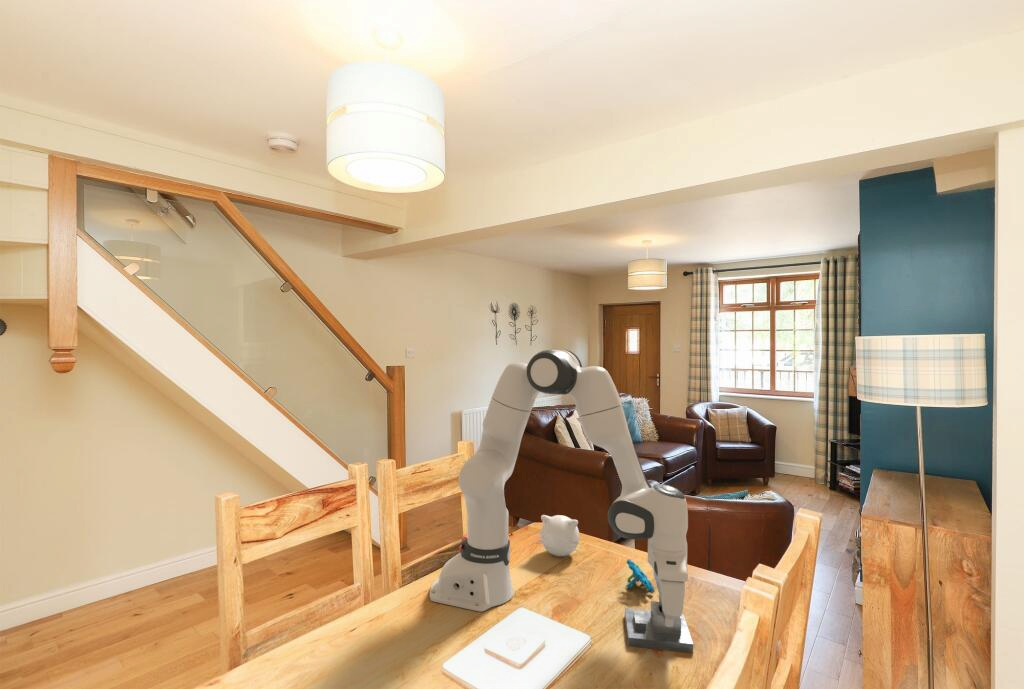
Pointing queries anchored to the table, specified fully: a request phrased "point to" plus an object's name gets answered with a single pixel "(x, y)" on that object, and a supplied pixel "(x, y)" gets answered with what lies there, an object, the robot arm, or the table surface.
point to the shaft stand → (655, 633)
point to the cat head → (559, 535)
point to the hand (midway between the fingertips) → (665, 614)
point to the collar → (658, 620)
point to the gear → (638, 576)
